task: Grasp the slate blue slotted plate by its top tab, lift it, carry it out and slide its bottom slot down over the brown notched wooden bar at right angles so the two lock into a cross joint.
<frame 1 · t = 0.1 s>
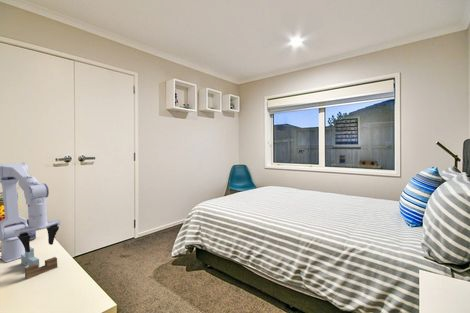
hand: (39, 247, 94), 10 cm above the table, tool pointing down, fingers open, 7 cm apart
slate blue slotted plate: (30, 265, 99), on the table
brown notched wooden bar: (41, 272, 94), on the table
pill bottle: (28, 240, 128), on the table
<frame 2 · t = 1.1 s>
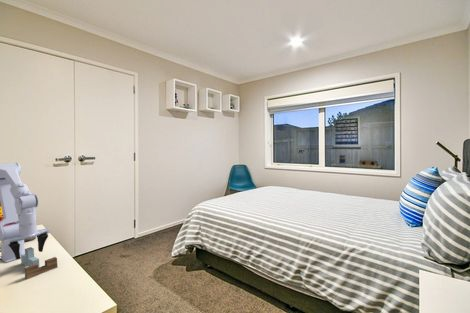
hand: (29, 254, 99), 5 cm above the table, tool pointing down, fingers open, 7 cm apart
nothing on the table moved.
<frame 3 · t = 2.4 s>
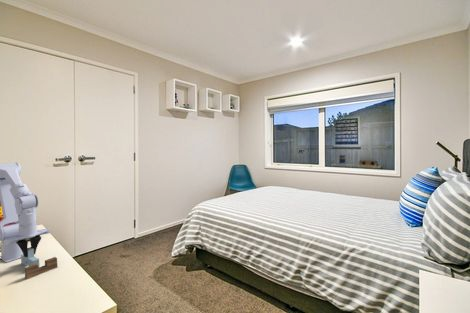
hand: (29, 255, 99), 5 cm above the table, tool pointing down, fingers closed on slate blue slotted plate, 2 cm apart
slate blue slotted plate: (30, 265, 99), on the table, touching gripper
everything else where it was.
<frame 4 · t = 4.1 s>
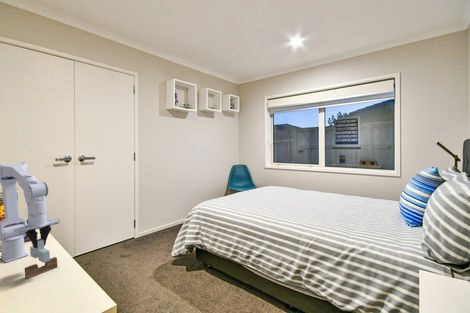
hand: (39, 246, 94), 11 cm above the table, tool pointing down, fingers closed on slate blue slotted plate
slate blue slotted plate: (40, 258, 94), point 6 cm above the table, touching gripper
everything else where it was.
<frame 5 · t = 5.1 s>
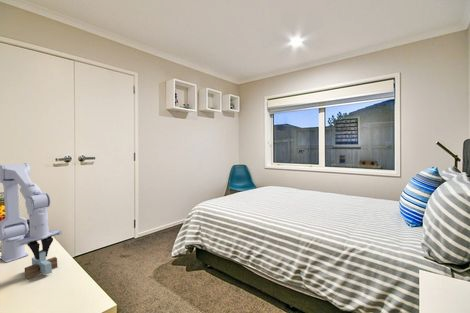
hand: (41, 257, 93), 6 cm above the table, tool pointing down, fingers closed on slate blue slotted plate, 2 cm apart
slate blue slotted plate: (41, 269, 94), point 1 cm above the table, touching gripper
everything else where it was.
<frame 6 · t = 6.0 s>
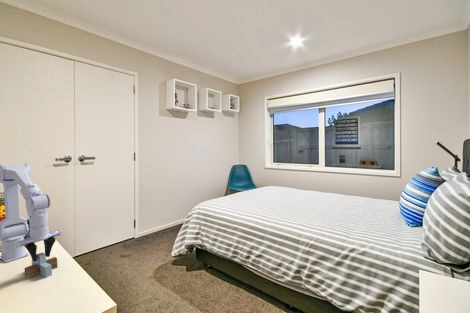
hand: (41, 258, 93), 6 cm above the table, tool pointing down, fingers open, 4 cm apart
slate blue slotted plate: (41, 272, 94), on the table, touching brown notched wooden bar
everything else where it was.
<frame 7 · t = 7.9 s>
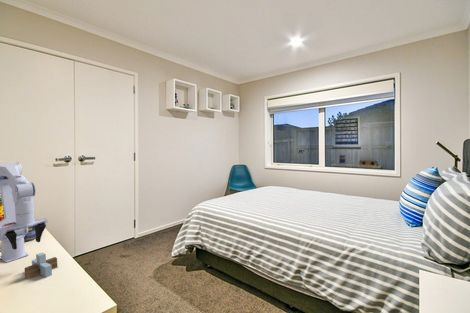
hand: (26, 245, 96), 10 cm above the table, tool pointing down, fingers open, 7 cm apart
nothing on the table moved.
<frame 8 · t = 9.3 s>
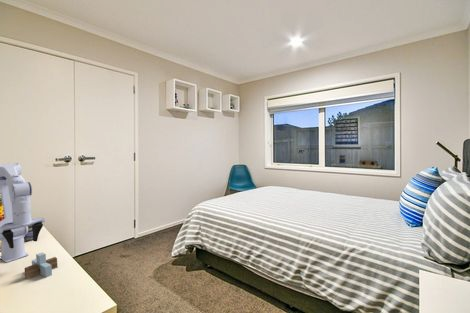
hand: (23, 244, 96), 10 cm above the table, tool pointing down, fingers open, 7 cm apart
nothing on the table moved.
at the end: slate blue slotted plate 0.1 cm off-centre on the brown notched wooden bar, point 0.0 cm above the brown notched wooden bar's base; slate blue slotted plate tilted 0°; the gripper is holding nothing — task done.
